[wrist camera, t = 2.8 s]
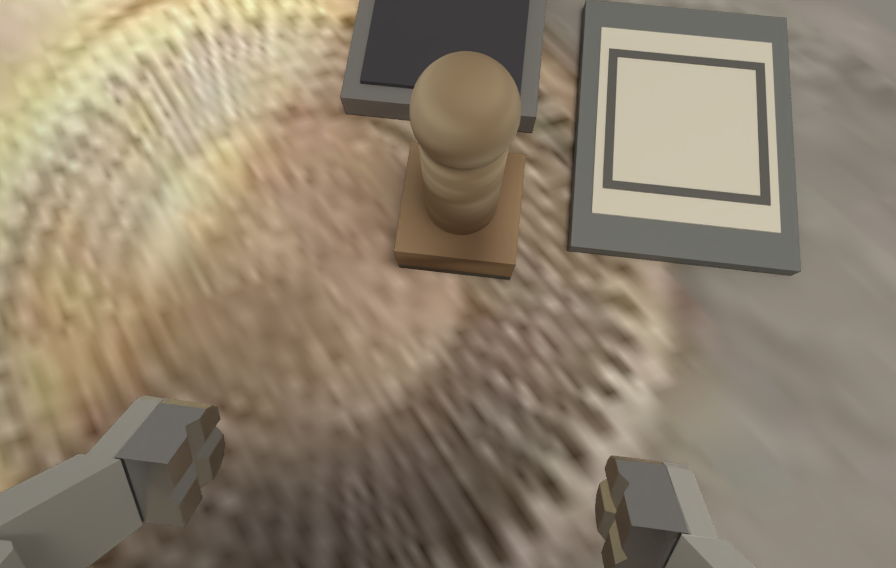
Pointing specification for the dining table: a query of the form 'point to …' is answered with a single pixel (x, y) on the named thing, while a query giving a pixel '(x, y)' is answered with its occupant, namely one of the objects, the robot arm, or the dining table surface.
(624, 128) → the document board
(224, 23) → the dining table surface
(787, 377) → the dining table surface
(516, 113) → the hand stamp
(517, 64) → the ink pad
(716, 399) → the dining table surface
